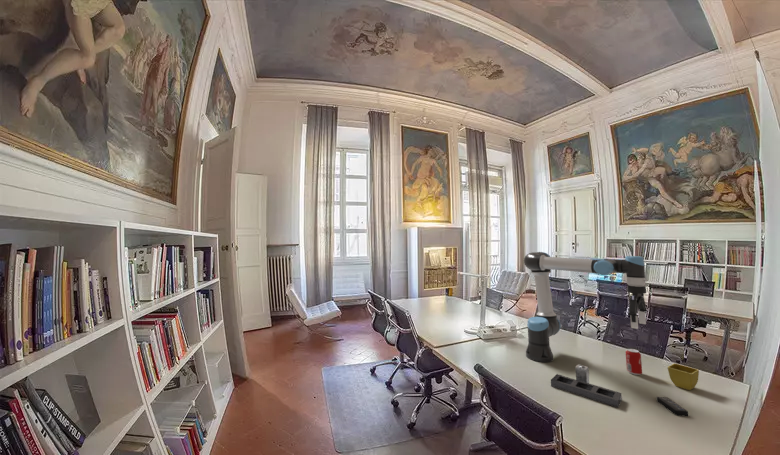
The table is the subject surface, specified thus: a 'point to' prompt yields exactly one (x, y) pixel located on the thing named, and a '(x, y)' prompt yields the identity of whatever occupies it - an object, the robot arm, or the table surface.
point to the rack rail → (587, 390)
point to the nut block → (582, 373)
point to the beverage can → (633, 362)
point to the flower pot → (683, 376)
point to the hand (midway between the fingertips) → (638, 326)
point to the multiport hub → (672, 406)
